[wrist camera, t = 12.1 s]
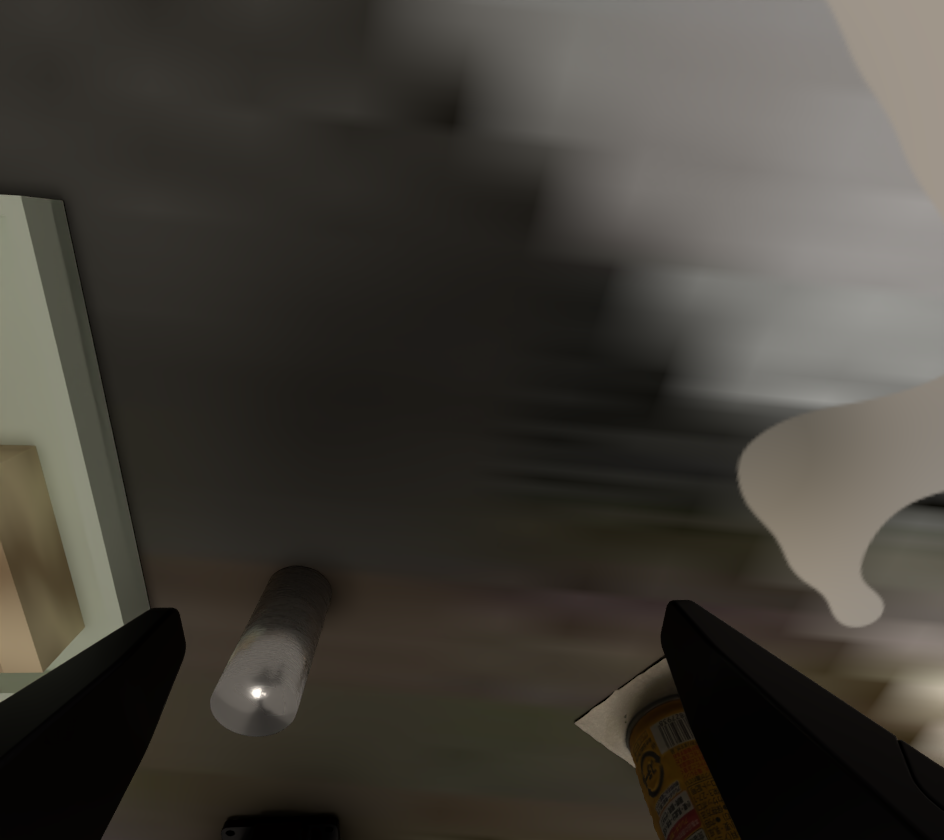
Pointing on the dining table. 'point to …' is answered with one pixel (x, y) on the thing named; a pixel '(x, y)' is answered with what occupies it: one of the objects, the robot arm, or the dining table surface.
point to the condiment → (662, 757)
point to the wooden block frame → (32, 569)
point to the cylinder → (273, 655)
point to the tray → (63, 419)
